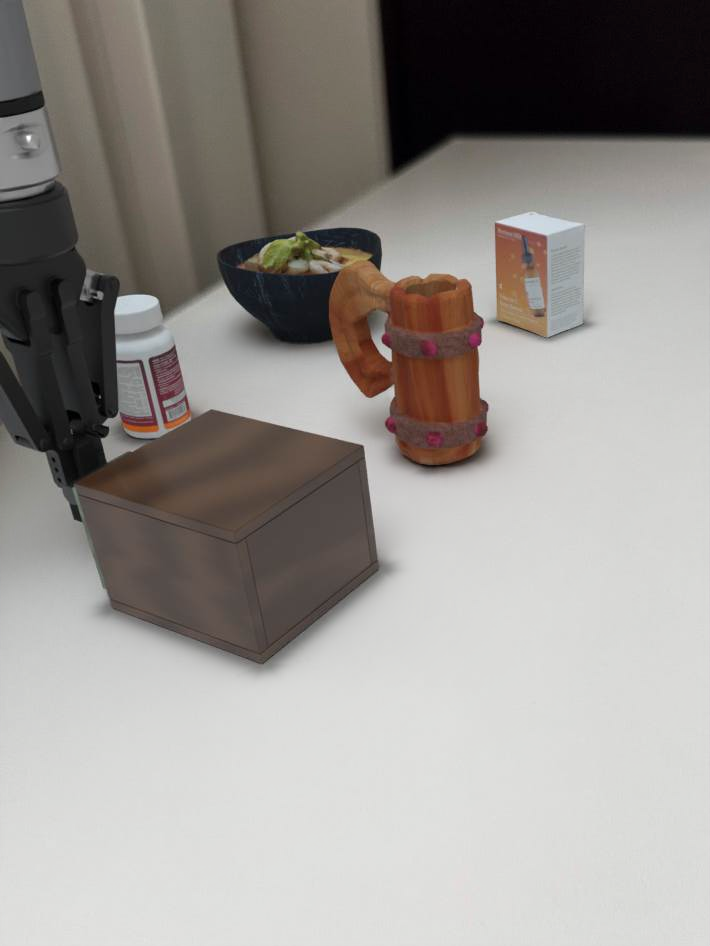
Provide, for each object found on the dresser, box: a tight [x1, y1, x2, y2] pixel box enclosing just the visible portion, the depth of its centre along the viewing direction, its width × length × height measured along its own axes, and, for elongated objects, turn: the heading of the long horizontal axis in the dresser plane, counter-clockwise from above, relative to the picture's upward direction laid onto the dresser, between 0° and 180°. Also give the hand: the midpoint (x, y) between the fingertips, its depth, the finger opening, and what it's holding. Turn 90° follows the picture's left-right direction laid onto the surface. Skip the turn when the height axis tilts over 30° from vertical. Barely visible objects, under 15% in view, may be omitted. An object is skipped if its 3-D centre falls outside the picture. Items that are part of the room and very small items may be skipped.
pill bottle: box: [114, 294, 192, 439], centre depth 93 cm, size 6×6×11 cm
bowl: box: [216, 227, 383, 344], centre depth 112 cm, size 17×17×10 cm
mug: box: [329, 260, 490, 466], centre depth 86 cm, size 15×8×15 cm, turn 56°
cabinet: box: [74, 408, 380, 664], centre depth 71 cm, size 14×13×10 cm
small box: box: [494, 211, 586, 339], centre depth 111 cm, size 8×6×10 cm
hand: (94, 519), depth 79 cm, fingers closed
